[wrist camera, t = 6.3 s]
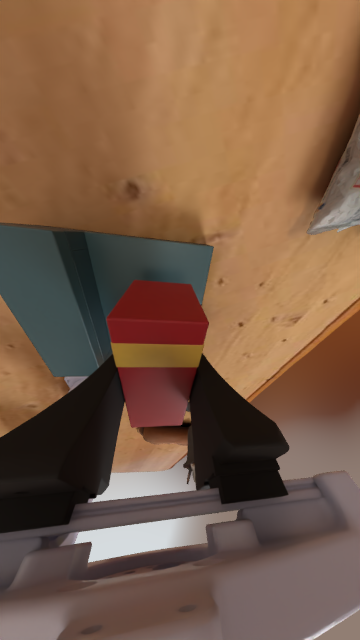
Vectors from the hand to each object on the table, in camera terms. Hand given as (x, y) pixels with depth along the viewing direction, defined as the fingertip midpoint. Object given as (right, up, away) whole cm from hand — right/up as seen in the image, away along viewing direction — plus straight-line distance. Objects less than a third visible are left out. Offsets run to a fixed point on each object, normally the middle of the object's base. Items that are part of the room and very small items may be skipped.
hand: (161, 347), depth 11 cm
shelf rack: (-4, +5, +6) cm, 9 cm away
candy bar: (0, +1, +1) cm, 1 cm away
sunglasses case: (-1, -29, +28) cm, 41 cm away
